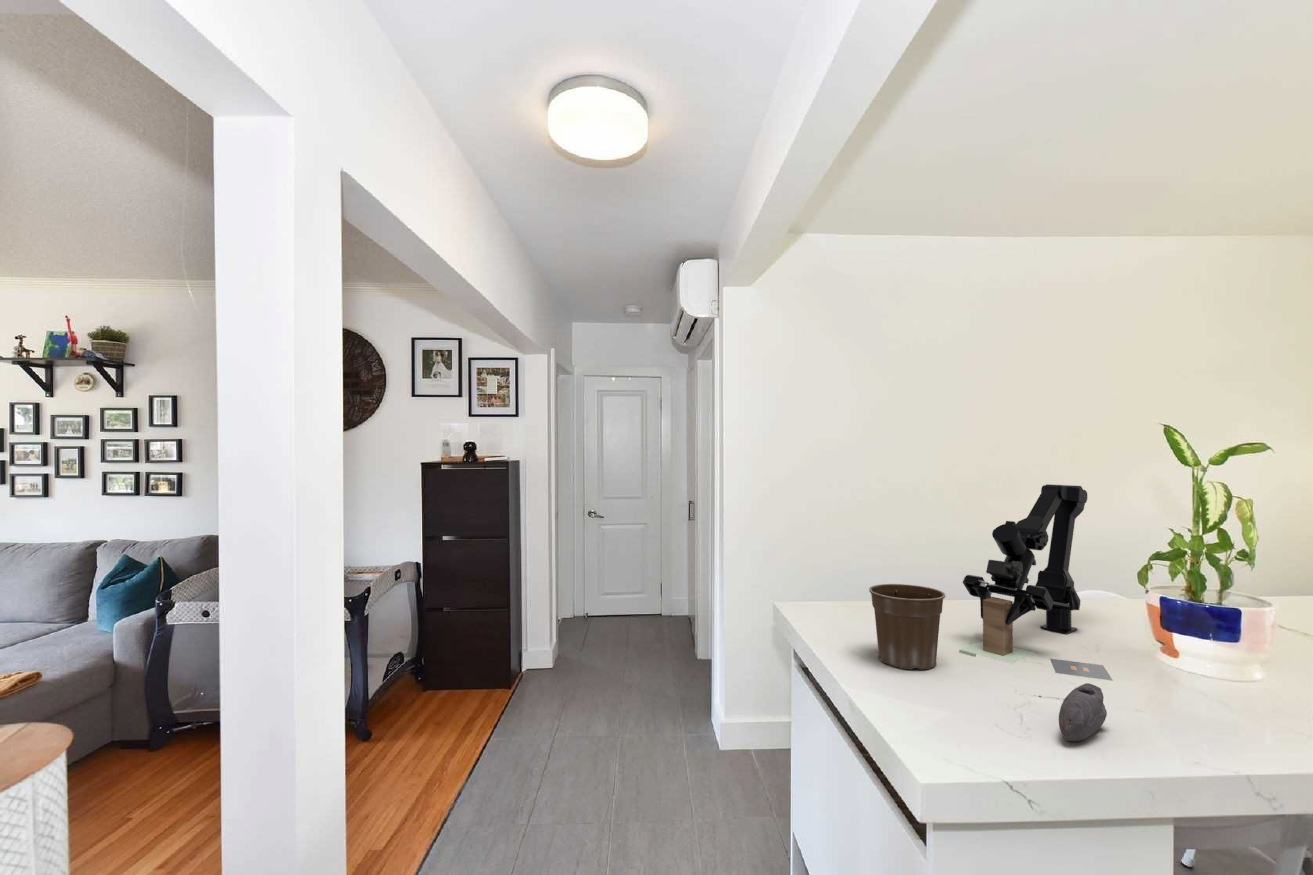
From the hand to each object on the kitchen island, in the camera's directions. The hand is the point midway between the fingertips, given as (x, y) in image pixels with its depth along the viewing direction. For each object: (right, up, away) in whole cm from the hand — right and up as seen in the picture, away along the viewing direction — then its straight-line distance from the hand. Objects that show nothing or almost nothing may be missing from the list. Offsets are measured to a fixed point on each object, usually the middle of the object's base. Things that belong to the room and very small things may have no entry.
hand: (994, 620), depth 144 cm
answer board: (+1, -8, +1) cm, 8 cm away
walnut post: (+1, -7, +1) cm, 7 cm away
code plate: (+12, -8, -11) cm, 18 cm away
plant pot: (-22, -8, -4) cm, 24 cm away
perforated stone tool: (-7, -8, -40) cm, 41 cm away
